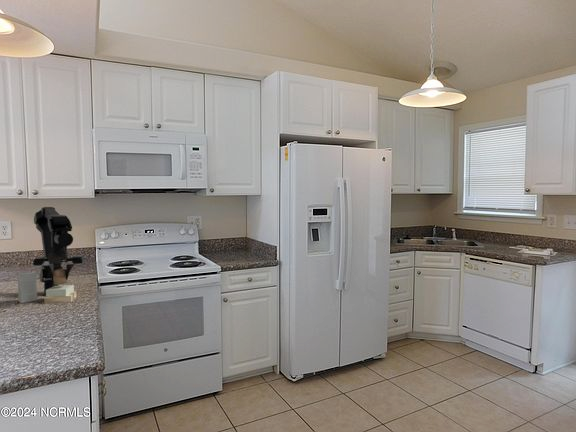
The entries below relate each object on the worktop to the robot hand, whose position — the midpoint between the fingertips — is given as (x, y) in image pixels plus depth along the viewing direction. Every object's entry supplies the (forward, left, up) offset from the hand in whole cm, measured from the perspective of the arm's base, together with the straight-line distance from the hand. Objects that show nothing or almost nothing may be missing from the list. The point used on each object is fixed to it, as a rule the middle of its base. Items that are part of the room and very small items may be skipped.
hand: (60, 279), depth 167 cm
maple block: (0, 0, -9) cm, 9 cm away
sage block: (0, 0, -6) cm, 6 cm away
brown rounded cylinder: (0, 0, -2) cm, 2 cm away
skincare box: (-2, -13, -9) cm, 16 cm away
